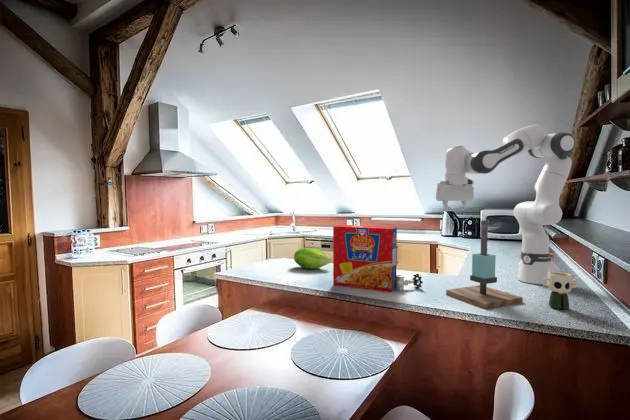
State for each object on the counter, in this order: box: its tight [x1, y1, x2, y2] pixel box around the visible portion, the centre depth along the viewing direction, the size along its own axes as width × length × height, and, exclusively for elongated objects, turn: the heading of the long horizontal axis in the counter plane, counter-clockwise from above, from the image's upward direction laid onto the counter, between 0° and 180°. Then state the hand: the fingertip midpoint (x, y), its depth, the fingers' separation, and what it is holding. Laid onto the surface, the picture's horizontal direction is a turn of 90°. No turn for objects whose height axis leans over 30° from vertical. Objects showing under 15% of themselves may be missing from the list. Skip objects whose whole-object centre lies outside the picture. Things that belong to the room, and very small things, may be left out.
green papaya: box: [293, 247, 332, 270], centre depth 198 cm, size 13×23×12 cm, turn 64°
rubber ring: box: [469, 274, 498, 284], centre depth 140 cm, size 7×7×2 cm
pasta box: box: [332, 224, 398, 293], centre depth 159 cm, size 28×8×28 cm, turn 63°
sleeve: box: [471, 252, 496, 279], centre depth 140 cm, size 6×6×9 cm
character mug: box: [542, 271, 578, 310], centre depth 128 cm, size 11×7×13 cm, turn 74°
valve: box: [395, 273, 424, 292], centre depth 155 cm, size 7×7×12 cm
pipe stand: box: [445, 220, 524, 310], centre depth 140 cm, size 20×20×32 cm
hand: (454, 210), depth 162 cm, fingers open, 8 cm apart
